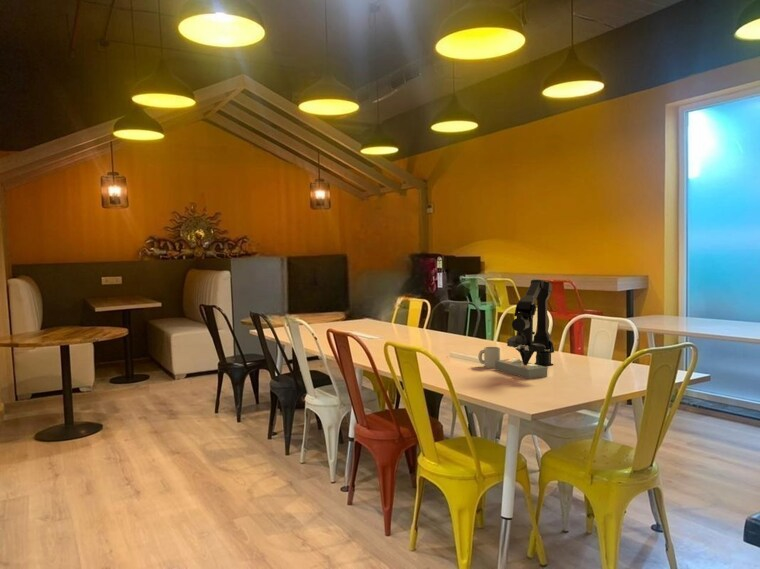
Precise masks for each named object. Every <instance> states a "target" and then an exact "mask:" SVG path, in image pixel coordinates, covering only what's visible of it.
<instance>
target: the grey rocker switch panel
mask: <svg viewBox="0 0 760 569" xmlns="http://www.w3.org/2000/svg"><path fill="white" fill-rule="evenodd" d="M510 359H511V358H507V359H500V360H497V361H496V368H495V370H497V371H501V372H504V373H508V374H511V375H513V374H514V376H518V377H521V378H524V379H527V380H532V378H533V379H539V378H546V376H547V377H548V367H547V366H541V365H538V367H532V368H525V367H521V365H522V364H523V361H522V359H520V362H516V363H506V362H505V361H507V360H510ZM528 364H533V363H531V362H528ZM535 365H537V364H535Z"/></svg>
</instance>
